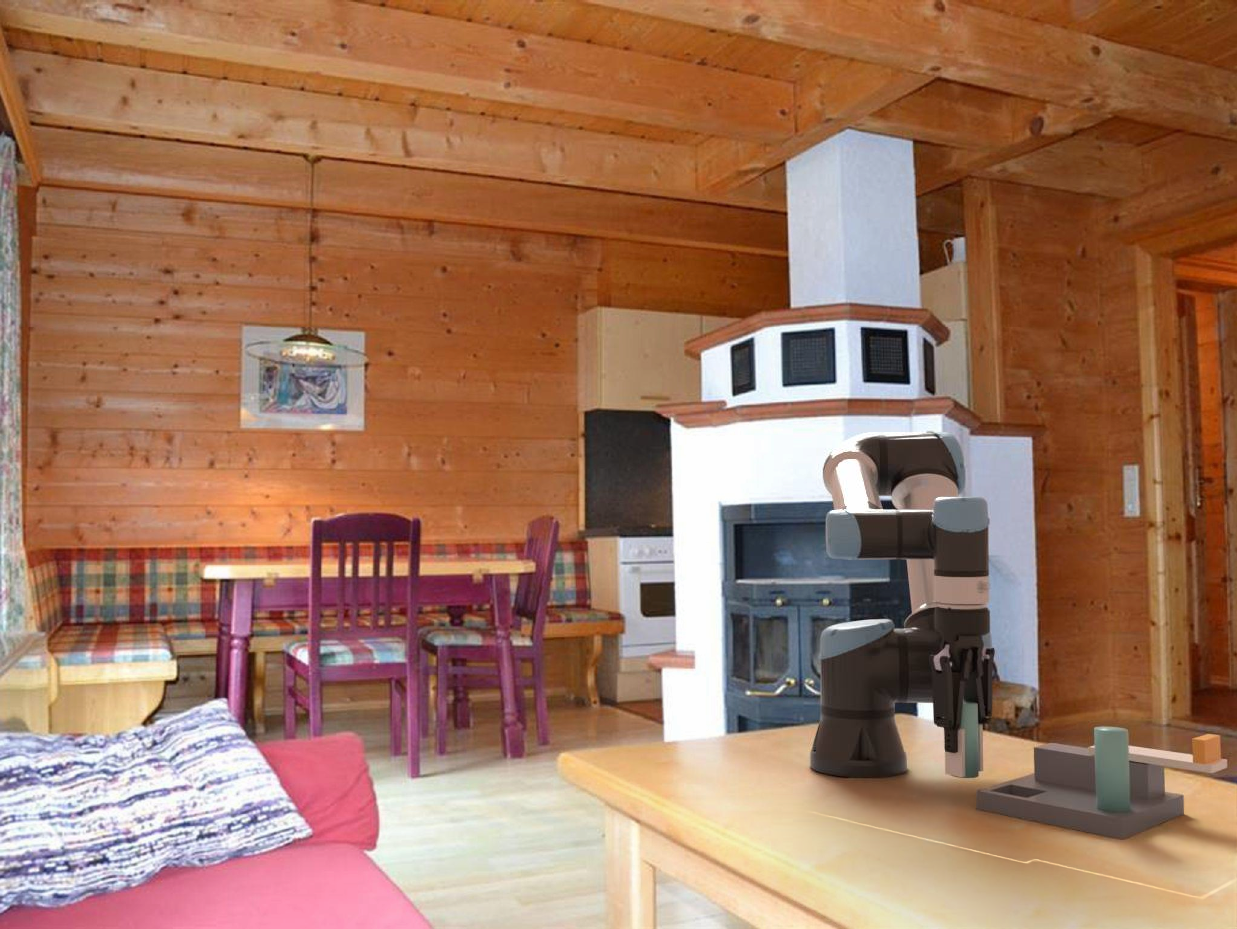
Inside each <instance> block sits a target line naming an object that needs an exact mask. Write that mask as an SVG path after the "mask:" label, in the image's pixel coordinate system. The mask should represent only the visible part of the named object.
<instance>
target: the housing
mask: <svg viewBox="0 0 1237 929" xmlns="http://www.w3.org/2000/svg"><path fill="white" fill-rule="evenodd" d="M1093 733H1094V734H1093V737H1094V738H1093V739H1094V745H1095V755H1089V753H1088V747H1082V746H1075V745H1068V744H1062V743H1055V742H1049V743H1045V744H1041V745H1037V746H1034V747H1033V766H1034V767H1033V770H1034V771H1033V773H1031V774H1027V775H1024V776H1020V777H1017V778H1014V779H1010V780H1007V781H1004V782H1000V783H996V784H994V785H991V786H988V787H984V788H980V789H977V790H976V792H975V796H976V798H975V799H976V803H975V804H976V810H979V811H984V812H988V813H993V814H998V815H1002V816H1008V817H1013V818H1017V819H1023V820H1028V821H1032V822H1037V823H1041V824H1046V825H1051V826H1056V827H1061V828H1065V829H1070V830H1075V831H1080V832H1084V833H1085V832H1086V833H1089V834H1095V835H1099V836H1104V837H1109V838H1115V839H1119V840H1125V839H1127V838H1129V837H1132V836H1134V835H1137V834H1139V833H1141V832H1144V831H1147V830H1149V829H1152V828H1154V827H1156V826H1159V825H1161V824H1163V823H1165V822H1168V821H1170V820H1173V819H1176V818H1177V817H1180V816H1183V815H1185V801H1184V800H1185V798H1184V794H1179V793H1174V792H1168V791H1166V788H1165V787H1166V782H1165V781H1166V780H1165V766H1161V765H1154V764H1148V763H1141V762H1135V761H1129V746H1130V745H1129V743H1130V742H1129V730H1128V729H1126V728H1122V727H1116V726H1097V727H1094V729H1093Z"/></svg>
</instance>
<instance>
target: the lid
mask: <svg viewBox="0 0 1237 929" xmlns="http://www.w3.org/2000/svg"><path fill="white" fill-rule="evenodd" d="M1191 740H1192V743H1191V745H1192V746H1191V747H1192V748H1191V749H1192V754H1190V753H1184V752H1183V753H1182V752H1175V751H1169V750H1163V749H1162V750H1161V749H1155V748H1154V749H1153V748H1147V747H1141V746H1134V745H1129V761H1135V762H1141V763H1148V764H1154V765H1161V766H1164V767H1167V768H1175V769H1181V770H1188V771H1193V772H1201V773H1208V774H1213V773H1217V772H1219V771H1222V770H1224V769H1227V768H1228V760H1227V759H1223V758H1222V756H1221V755H1222V754H1221V752H1222V750H1221V735H1217V734H1212V733H1207V734H1203V735H1200V736H1197V737H1193V738H1192V739H1191ZM1087 748H1088V753H1089V755H1095V744H1093V745H1091V746H1088V747H1087Z"/></svg>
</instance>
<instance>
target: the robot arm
mask: <svg viewBox="0 0 1237 929" xmlns="http://www.w3.org/2000/svg"><path fill="white" fill-rule="evenodd" d="M822 480H823V484H824V487H825V489H826V491H827V492H828V493H829V495H831V497H832V503H833V510H830V511H828V512H827V513H826V515H825V546H826V554H827V555H828V557H829V558H831V559H834V560H835V559H838V560H848V561H857V560H861V561H863V560H864V561H865V560H869V561H870V560H874V561H875V560H906V565H907V566H906V567H907V575H908V584H909V587H908V588H909V595H910V596H909V597H910V605H911V614H909V615H908V617H907V618H906V619H905V621H904V623H903V627H904V628H895V624H894V621H893V620H891V619H889V618H880V619H879V618H878V619H863V620H856V621H855V620H854V621H849V622H841V623H836V624H833V625H830V626H827V627H826V628H825V629H824V630H822V632H821V634H820V640H819V641H820V642H819V654H818V660H820V719H819V723H818V726H817V730H816V733H815V736H814V739H813V743H812V747H811V750H810V752H809V756H810V757H809V764H810V768H811V769H812V770H813V771H817V772H819V773H822V774H826V775H830V776H837V777H845V778H859V779H860V778H862V779H863V778H864V779H869V778H872V779H875V778H889V777H895V776H899V775H902V774H904V773H906V772H907V771H908V757H907V756H908V755H907V752H906V751H905V749H904V744H903V741H902V738H901V735H900V732H899V729H898V726H897V722H896V713H895V712H896V711H895V709H896V706H895V705H896V704H895V703H915V704H921V703H923V704H932V710H933V713H932V715H933V724H934V725H935V726H936V727H937V728H943V743H944V744H943V745H944V746H943V747H944V767H945V768H944V771H945V772H944V774H945V775H947V776H948V775H949V776H951V775H953V776H952V777H954V776H958V777H965V729H960V728H961V719H962V708H963V701H970V702H975V703H977V704H978V755H979V773H980V772H981V773H982V772H983V771H984V738H983V737H984V729H983V728H984V727H983V726H984V724H985V725H989V724H991V717H992V715H993V684H994V683H993V665H994V658H995V653H996V650H995V648H994V647H993V646H992V645H993V644H992V635H991V612H990V609H989V608H988V607H986V605H988V604H989V603H990V589H991V584H990V580H989V579H990V577H989V575H990V573H989V572H990V570H989V564H990V562H989V561H990V560H989V559H990V558H989V549H990V548H989V538H990V537H989V526H990V523H991V522H990V518H989V512H988V510H989V509H988V507H989V506H988V502H987V500H986V499H985V498H984V497H982V496H960V495H962V493H963V492H964V490H965V488H966V468H965V458H964V455H963V449H962V447H961V444H960V442H959V440H958V438H957V437H956V436H955V435H954V434H952V433H950V432H944V431H943V432H942V431H934V430H927V431H926V432H867V433H862V434H859V435H856V436H853V437H851V438H848V439H846V440H845V441H843V442H842V443H840V444H838V445H837V446H836V447H835V448H834V449H833V450H832V451H831V452H830V453H829V454H828V456H827V458H826V459H825V462H824V463H823V467H822ZM881 496H882V497H884V496H886V497H891V503H892V505H893V506H894V508H895V509H883V506H882V502H881ZM958 777H957V778H958Z"/></svg>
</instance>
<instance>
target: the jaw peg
mask: <svg viewBox="0 0 1237 929" xmlns="http://www.w3.org/2000/svg"><path fill="white" fill-rule="evenodd" d="M960 729H965V777H958V776H953V775H950V776H952V777H953V778H959V779H975V778H978V777H979V775H980V774H979V773H980V771H979V755H978V704H977V703H975V702H970V701H963V708H962V719H961V728H960Z"/></svg>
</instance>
